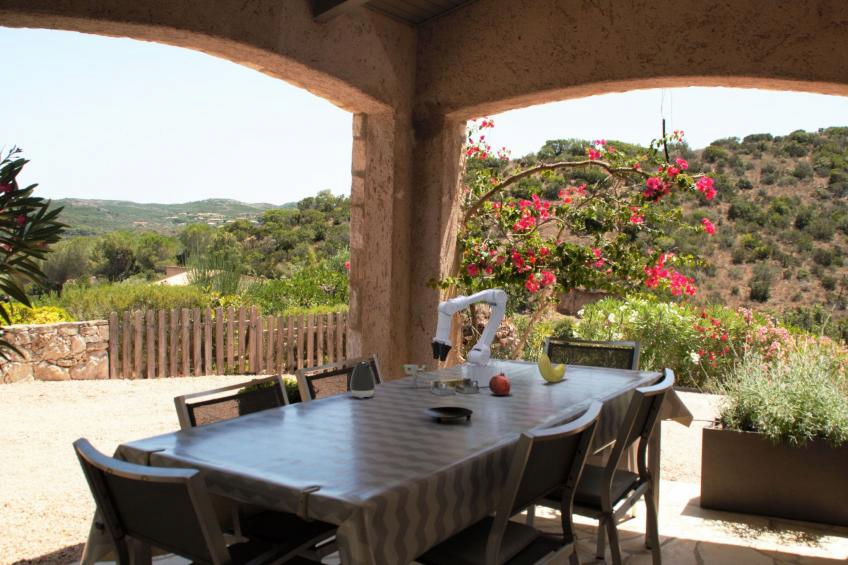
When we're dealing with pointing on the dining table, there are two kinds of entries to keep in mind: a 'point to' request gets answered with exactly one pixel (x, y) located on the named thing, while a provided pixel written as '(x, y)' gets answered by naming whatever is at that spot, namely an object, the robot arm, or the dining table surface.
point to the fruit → (499, 384)
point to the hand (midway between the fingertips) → (439, 360)
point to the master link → (451, 382)
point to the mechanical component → (413, 372)
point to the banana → (550, 368)
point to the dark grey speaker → (362, 380)
